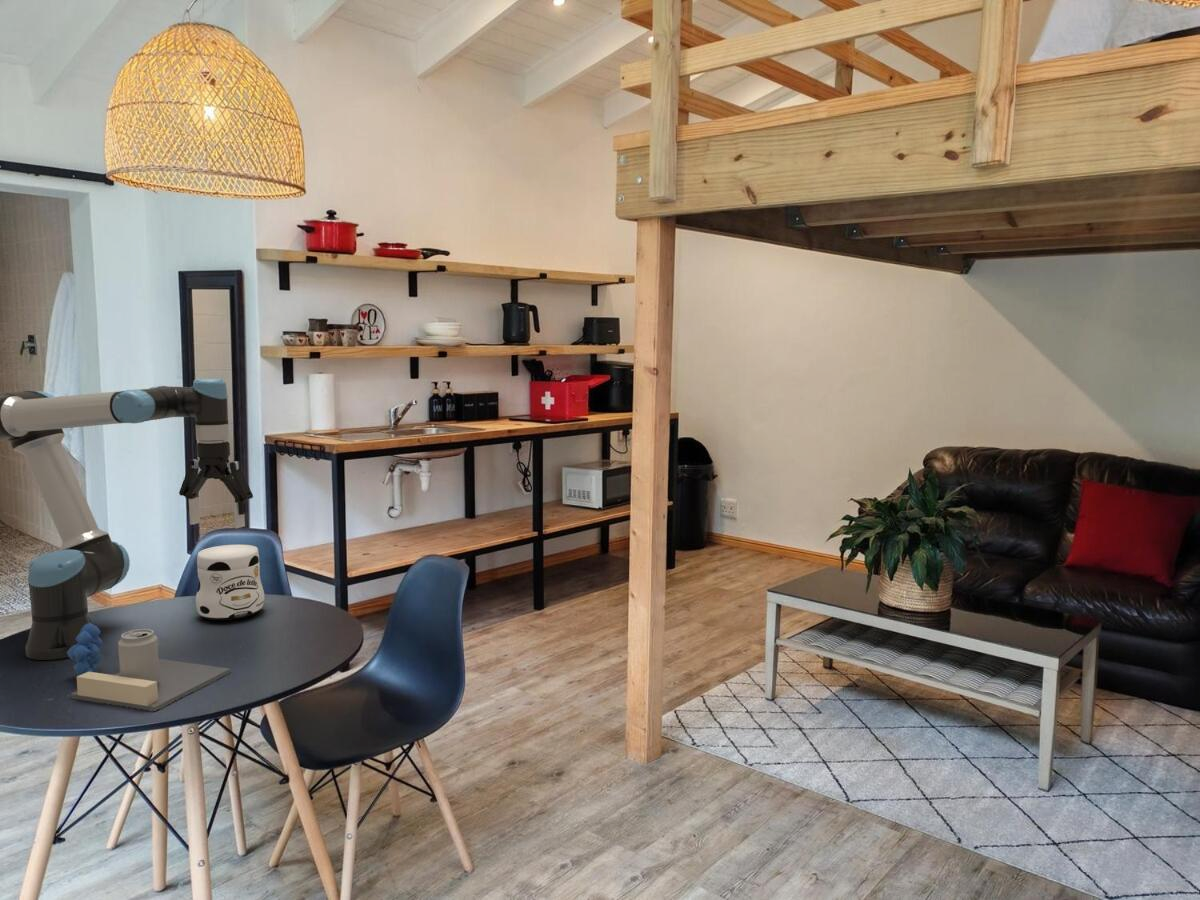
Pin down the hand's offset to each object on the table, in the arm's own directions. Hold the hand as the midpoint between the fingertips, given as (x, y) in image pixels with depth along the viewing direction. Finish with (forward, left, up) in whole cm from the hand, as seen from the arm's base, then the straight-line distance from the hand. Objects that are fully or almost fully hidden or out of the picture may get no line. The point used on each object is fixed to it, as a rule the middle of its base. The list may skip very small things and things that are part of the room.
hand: (217, 525), depth 220 cm
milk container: (-10, +15, -29) cm, 34 cm away
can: (+8, -34, -28) cm, 45 cm away
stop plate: (+8, -31, -29) cm, 43 cm away
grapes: (-10, -32, -29) cm, 44 cm away
